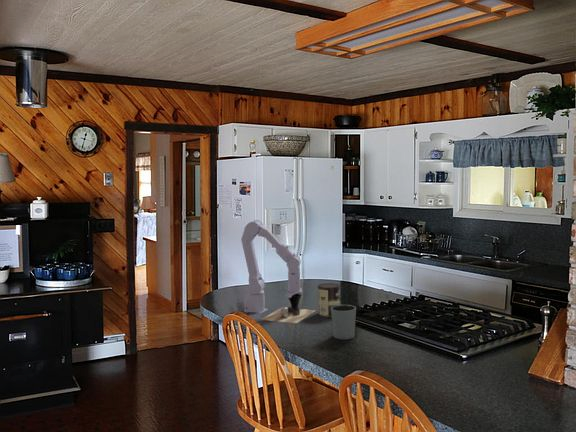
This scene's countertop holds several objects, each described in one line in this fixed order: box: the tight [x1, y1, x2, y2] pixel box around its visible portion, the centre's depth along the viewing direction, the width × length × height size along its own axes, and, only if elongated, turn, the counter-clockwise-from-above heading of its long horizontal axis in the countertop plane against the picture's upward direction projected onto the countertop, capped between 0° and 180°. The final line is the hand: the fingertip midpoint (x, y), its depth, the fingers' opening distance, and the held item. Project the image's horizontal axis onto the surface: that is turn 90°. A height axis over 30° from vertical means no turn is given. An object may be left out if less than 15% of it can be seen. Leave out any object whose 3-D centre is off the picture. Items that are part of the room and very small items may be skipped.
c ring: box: [287, 306, 301, 316], centre depth 270 cm, size 7×9×2 cm
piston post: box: [280, 306, 289, 318], centre depth 263 cm, size 3×3×4 cm
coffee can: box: [317, 282, 341, 319], centre depth 267 cm, size 10×10×14 cm
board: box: [260, 307, 317, 324], centre depth 267 cm, size 18×24×1 cm
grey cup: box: [331, 304, 357, 340], centre depth 233 cm, size 10×10×12 cm
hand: (294, 309), depth 274 cm, fingers closed
